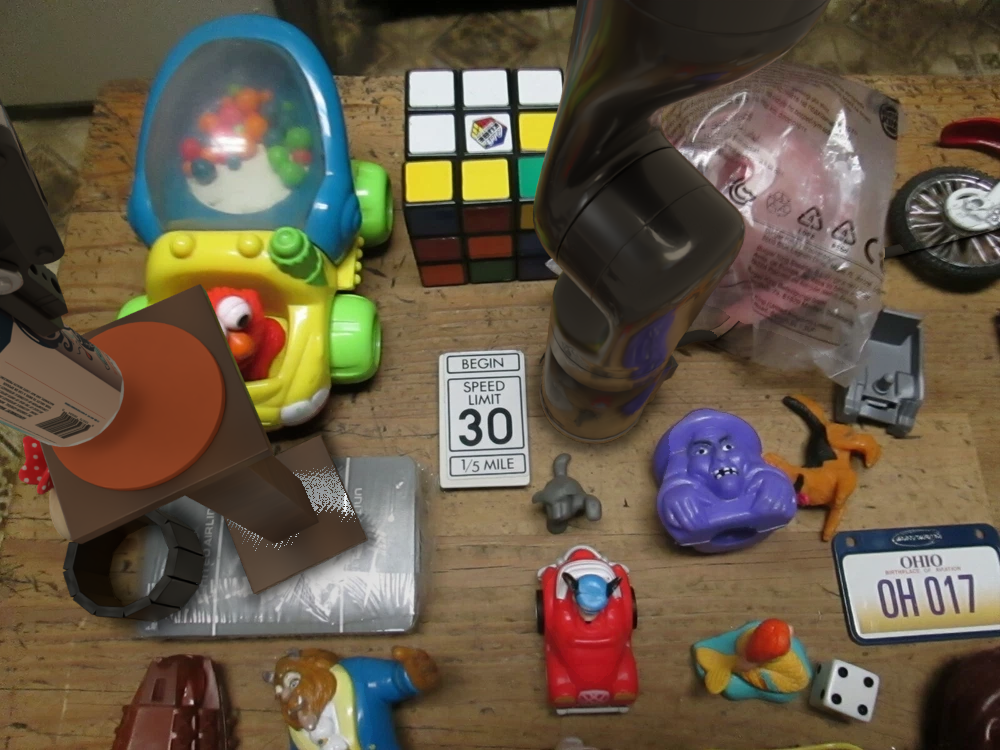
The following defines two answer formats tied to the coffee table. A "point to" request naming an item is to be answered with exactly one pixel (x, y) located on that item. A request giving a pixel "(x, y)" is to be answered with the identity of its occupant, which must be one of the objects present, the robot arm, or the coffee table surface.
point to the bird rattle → (42, 481)
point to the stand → (225, 473)
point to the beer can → (55, 384)
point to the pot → (169, 594)
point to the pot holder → (152, 409)
